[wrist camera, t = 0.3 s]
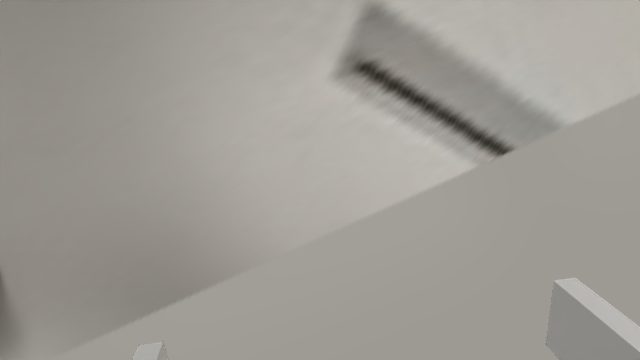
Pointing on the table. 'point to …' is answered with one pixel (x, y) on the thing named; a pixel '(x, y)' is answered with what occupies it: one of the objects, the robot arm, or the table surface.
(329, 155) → the table surface
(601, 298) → the robot arm
